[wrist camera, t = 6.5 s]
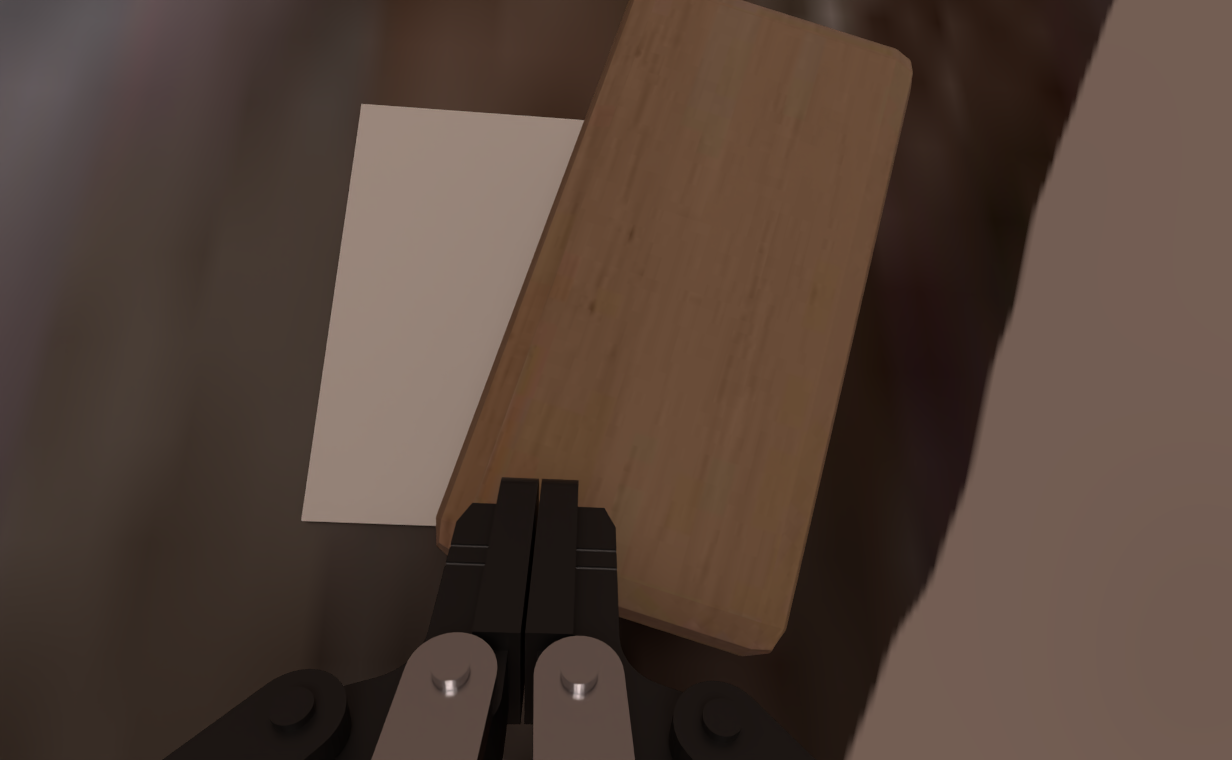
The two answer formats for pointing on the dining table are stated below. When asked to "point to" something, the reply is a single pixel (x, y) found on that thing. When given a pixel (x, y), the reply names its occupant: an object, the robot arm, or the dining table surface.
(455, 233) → the pale grey mat
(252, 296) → the dining table surface
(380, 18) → the dining table surface
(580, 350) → the wooden block
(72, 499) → the dining table surface
